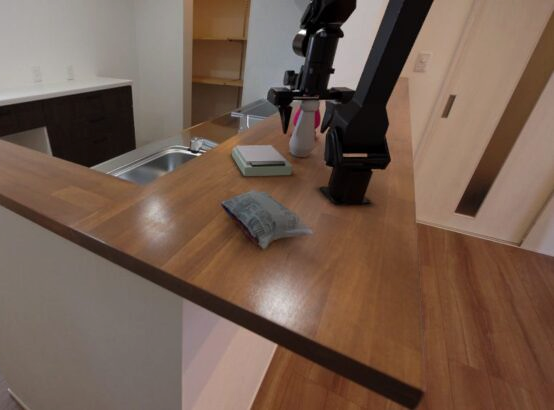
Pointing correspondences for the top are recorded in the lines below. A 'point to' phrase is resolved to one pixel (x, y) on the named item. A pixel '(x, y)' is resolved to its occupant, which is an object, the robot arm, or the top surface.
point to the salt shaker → (304, 129)
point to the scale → (260, 161)
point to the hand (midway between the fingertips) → (303, 133)
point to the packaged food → (264, 218)
